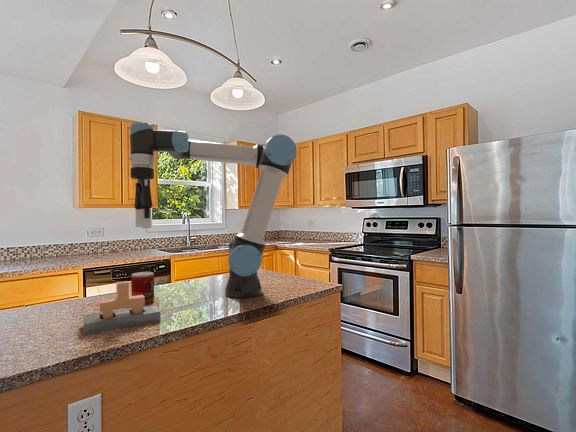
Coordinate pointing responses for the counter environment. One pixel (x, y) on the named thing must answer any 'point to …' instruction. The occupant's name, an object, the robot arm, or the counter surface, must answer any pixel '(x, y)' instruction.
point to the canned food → (143, 285)
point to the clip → (121, 301)
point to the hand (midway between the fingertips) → (143, 227)
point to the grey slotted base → (120, 319)
